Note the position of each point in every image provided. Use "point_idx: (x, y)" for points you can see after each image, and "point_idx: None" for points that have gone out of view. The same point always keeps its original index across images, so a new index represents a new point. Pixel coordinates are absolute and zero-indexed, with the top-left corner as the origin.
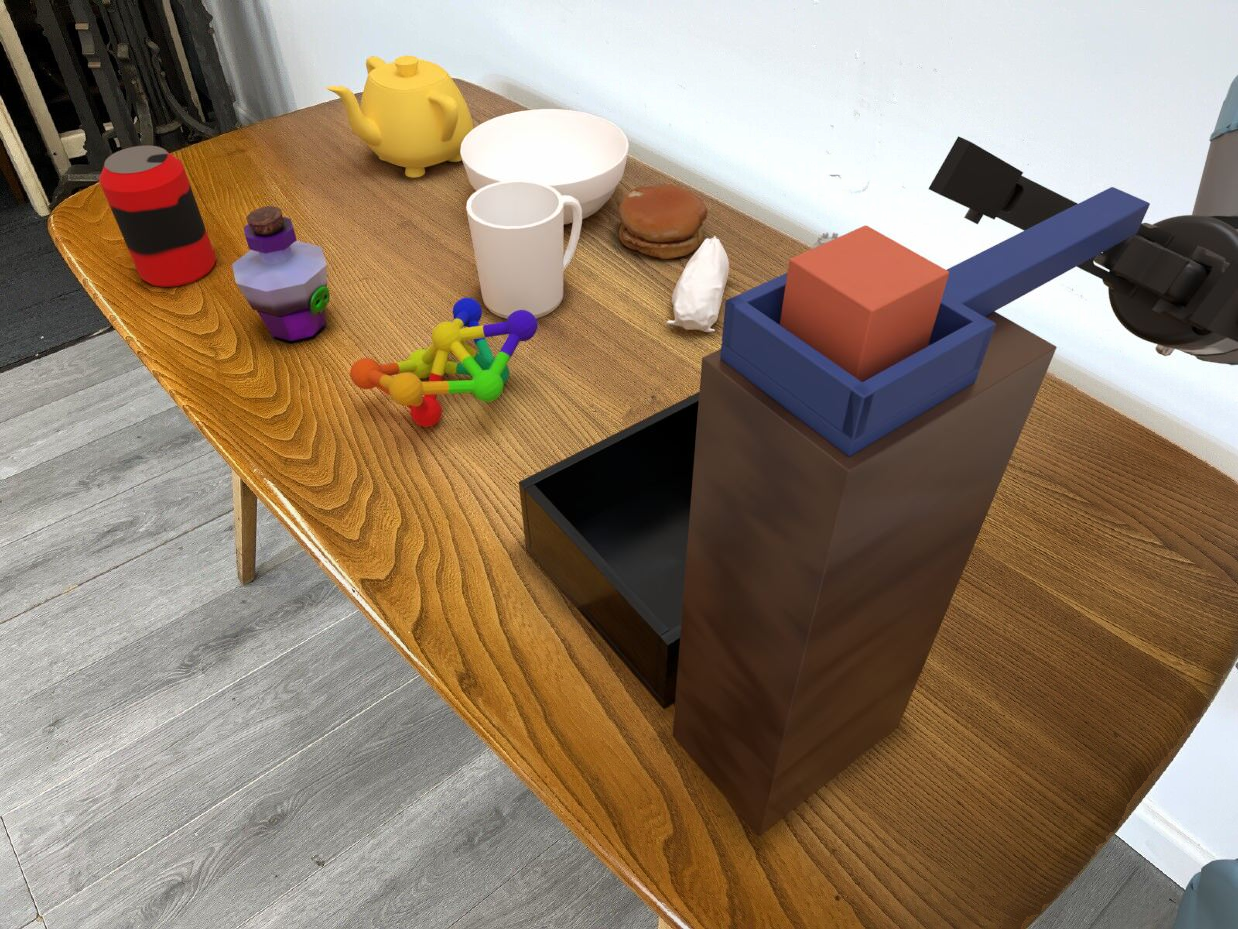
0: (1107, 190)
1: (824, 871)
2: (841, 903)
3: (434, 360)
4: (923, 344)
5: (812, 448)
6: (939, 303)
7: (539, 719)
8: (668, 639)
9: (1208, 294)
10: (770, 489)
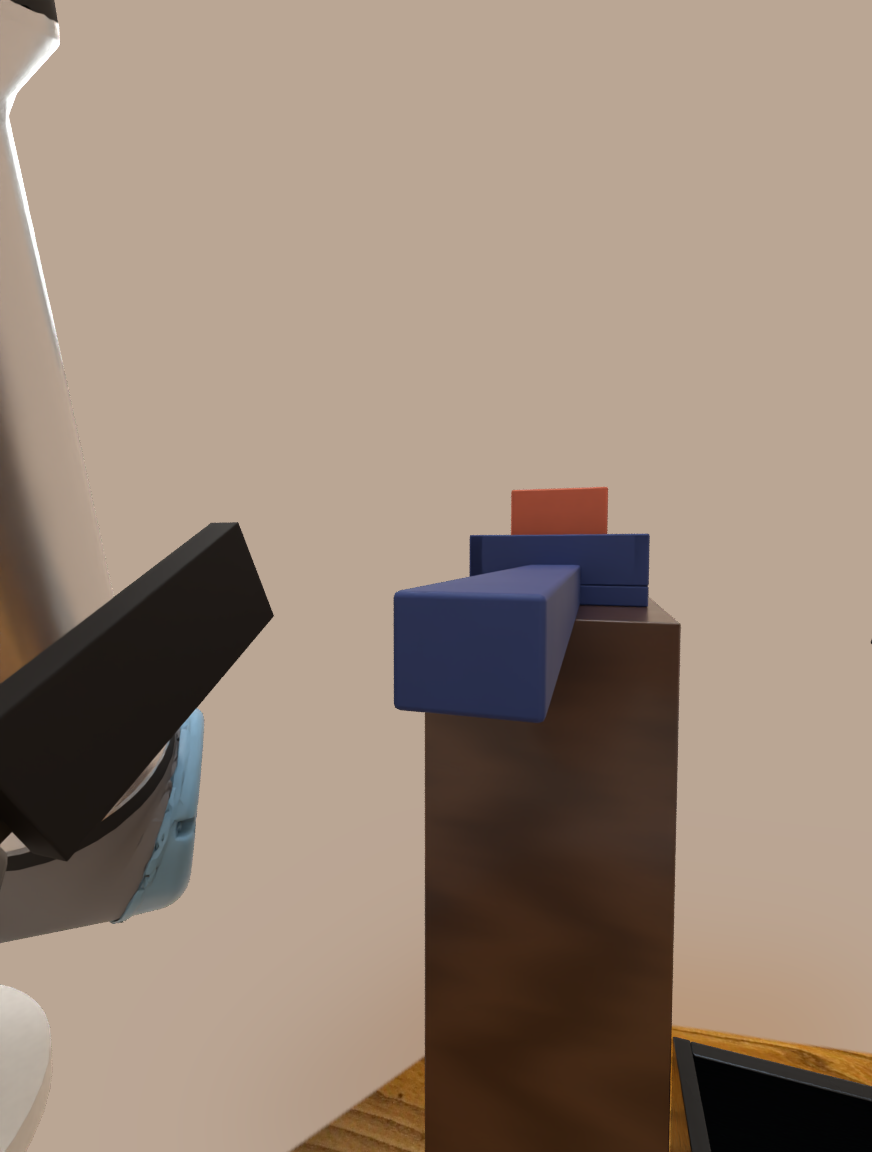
0: (539, 590)
1: (420, 1111)
2: (394, 1093)
3: None
4: None
5: None
6: (511, 520)
7: None
8: (680, 1042)
9: (258, 576)
10: None
